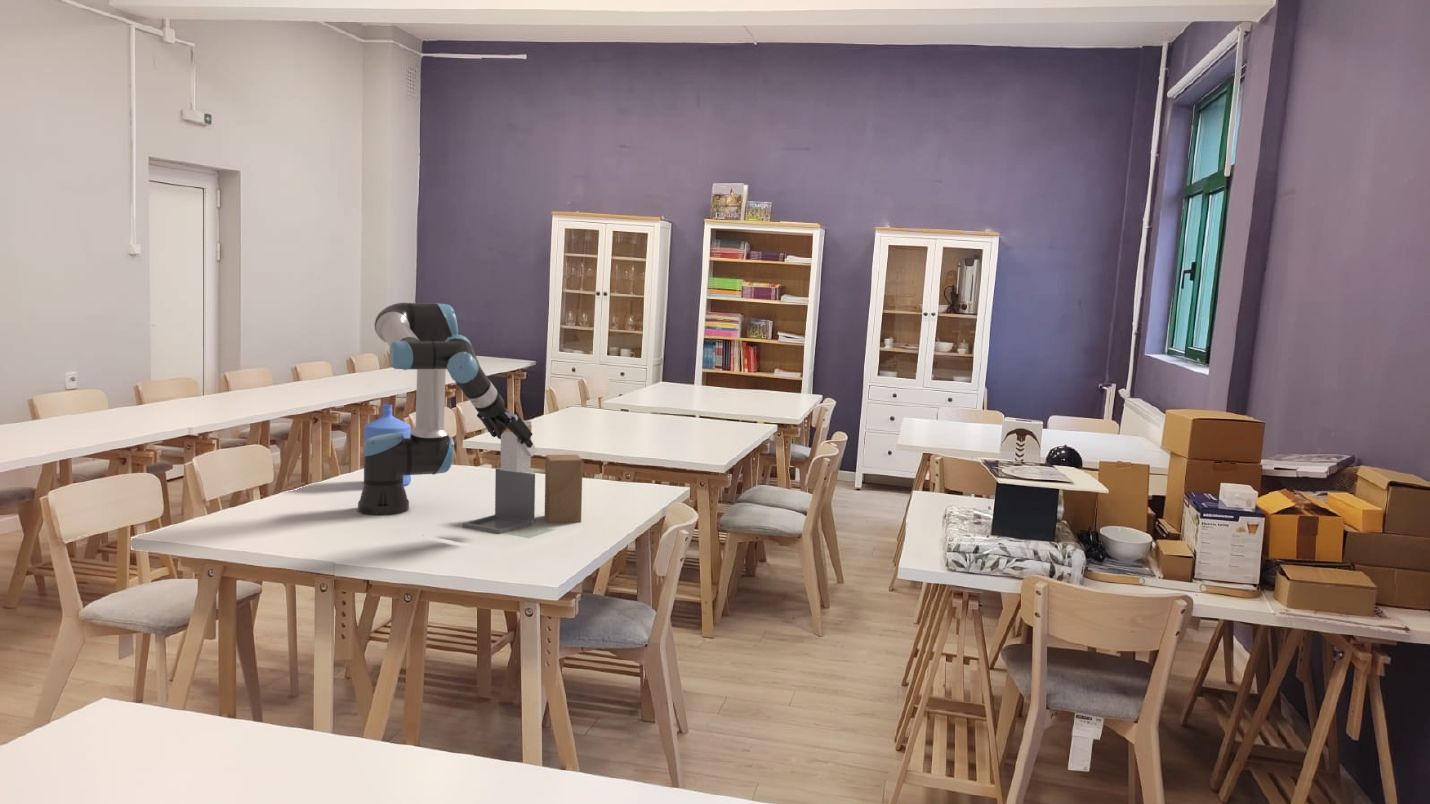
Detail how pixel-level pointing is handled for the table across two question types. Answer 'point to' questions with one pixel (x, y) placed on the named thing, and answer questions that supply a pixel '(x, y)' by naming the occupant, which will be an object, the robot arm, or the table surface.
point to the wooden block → (563, 488)
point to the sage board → (531, 531)
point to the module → (514, 451)
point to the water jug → (388, 429)
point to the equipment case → (509, 503)
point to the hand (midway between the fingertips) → (524, 451)
